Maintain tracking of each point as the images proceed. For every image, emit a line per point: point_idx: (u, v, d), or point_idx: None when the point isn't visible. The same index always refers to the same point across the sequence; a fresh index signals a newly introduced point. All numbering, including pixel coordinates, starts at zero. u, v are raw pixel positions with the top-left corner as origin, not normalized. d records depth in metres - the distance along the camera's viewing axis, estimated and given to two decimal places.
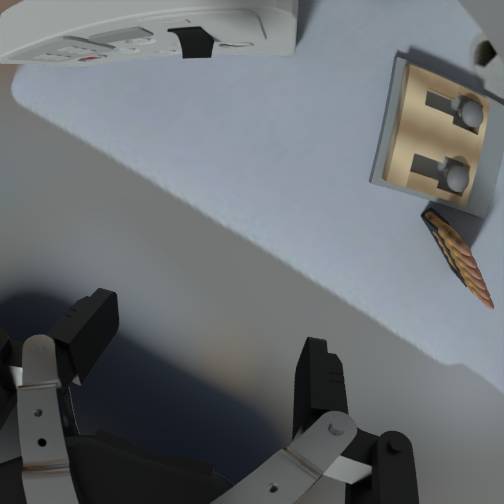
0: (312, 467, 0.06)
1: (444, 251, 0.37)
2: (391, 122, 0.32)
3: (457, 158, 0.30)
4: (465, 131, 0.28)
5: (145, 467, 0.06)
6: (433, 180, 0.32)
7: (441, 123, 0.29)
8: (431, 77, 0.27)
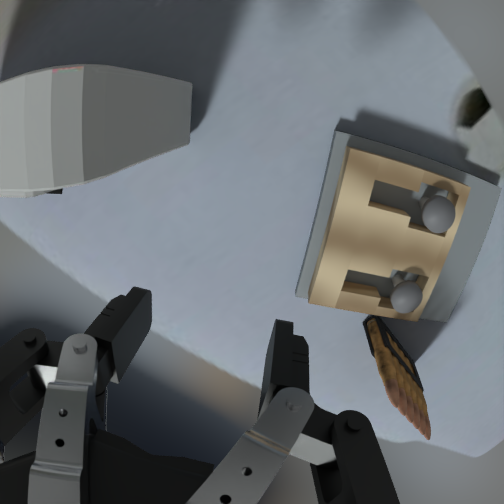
0: (279, 445, 0.07)
1: None
2: (323, 224, 0.28)
3: (410, 270, 0.26)
4: (426, 235, 0.24)
5: (145, 467, 0.06)
6: (373, 298, 0.27)
7: (390, 228, 0.24)
8: (381, 164, 0.22)
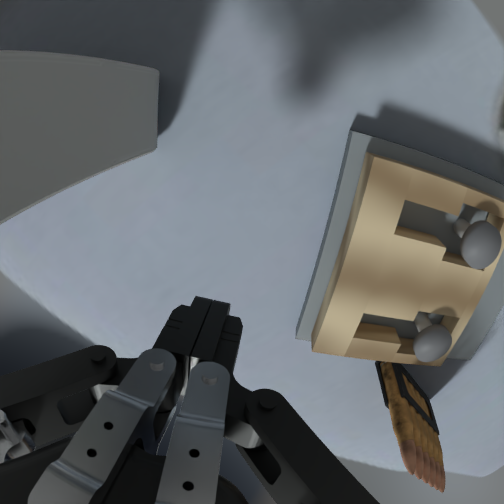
0: (212, 420, 0.07)
1: None
2: (332, 254, 0.21)
3: (439, 311, 0.19)
4: (463, 269, 0.18)
5: (145, 467, 0.06)
6: (392, 344, 0.21)
7: (420, 262, 0.18)
8: (414, 179, 0.16)
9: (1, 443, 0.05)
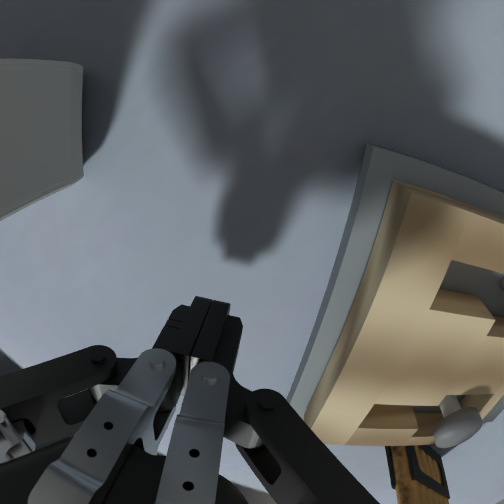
0: (212, 420, 0.07)
1: None
2: (335, 326, 0.14)
3: (472, 391, 0.13)
4: None
5: (145, 467, 0.06)
6: (407, 430, 0.14)
7: (459, 341, 0.11)
8: (469, 229, 0.09)
9: (1, 443, 0.05)
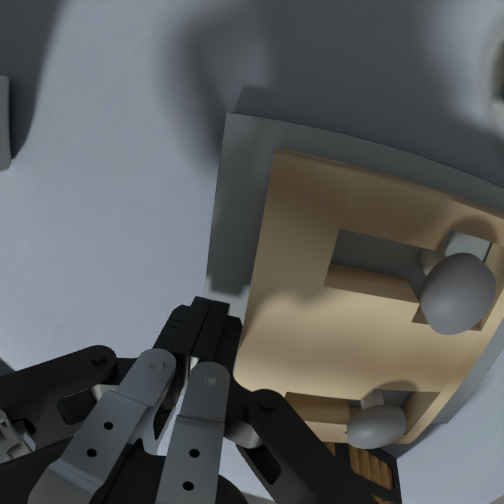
0: (212, 419, 0.07)
1: None
2: None
3: (408, 387, 0.13)
4: None
5: (145, 467, 0.06)
6: (337, 425, 0.14)
7: (374, 327, 0.11)
8: (357, 192, 0.09)
9: (1, 443, 0.05)
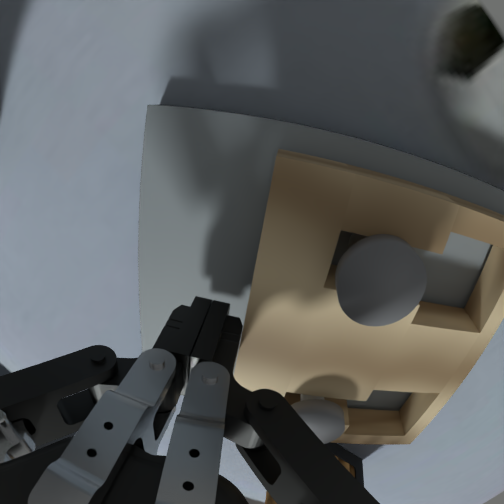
0: (212, 420, 0.07)
1: None
2: (152, 285, 0.15)
3: (407, 388, 0.13)
4: (447, 333, 0.11)
5: (145, 467, 0.06)
6: None
7: (374, 328, 0.12)
8: (358, 194, 0.09)
9: (1, 443, 0.05)
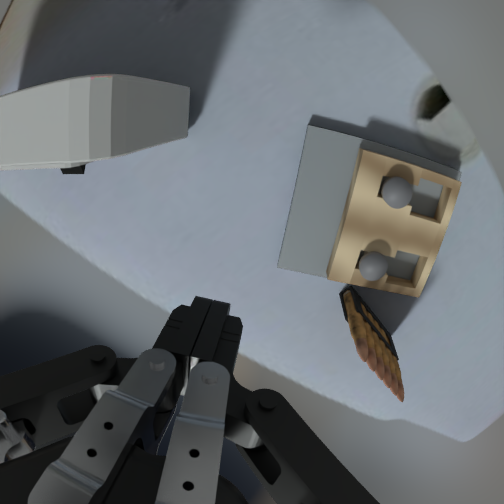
0: (212, 420, 0.07)
1: None
2: (299, 203, 0.33)
3: (412, 251, 0.31)
4: (425, 221, 0.29)
5: (145, 467, 0.06)
6: None
7: (395, 215, 0.30)
8: (388, 163, 0.28)
9: (1, 443, 0.05)
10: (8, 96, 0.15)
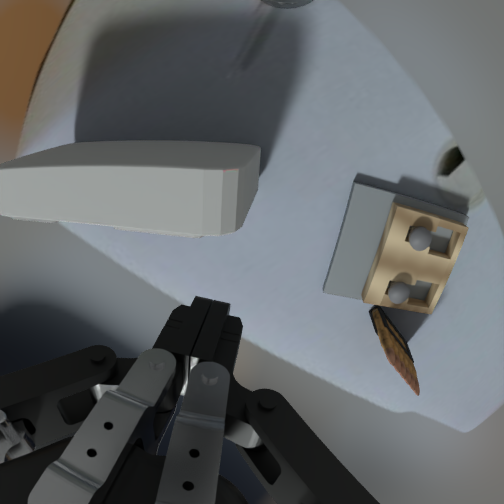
0: (212, 420, 0.07)
1: None
2: (343, 244, 0.41)
3: (428, 280, 0.39)
4: (439, 258, 0.37)
5: (145, 467, 0.06)
6: None
7: (417, 254, 0.38)
8: (415, 216, 0.36)
9: (1, 443, 0.05)
10: (128, 168, 0.22)
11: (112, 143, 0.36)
